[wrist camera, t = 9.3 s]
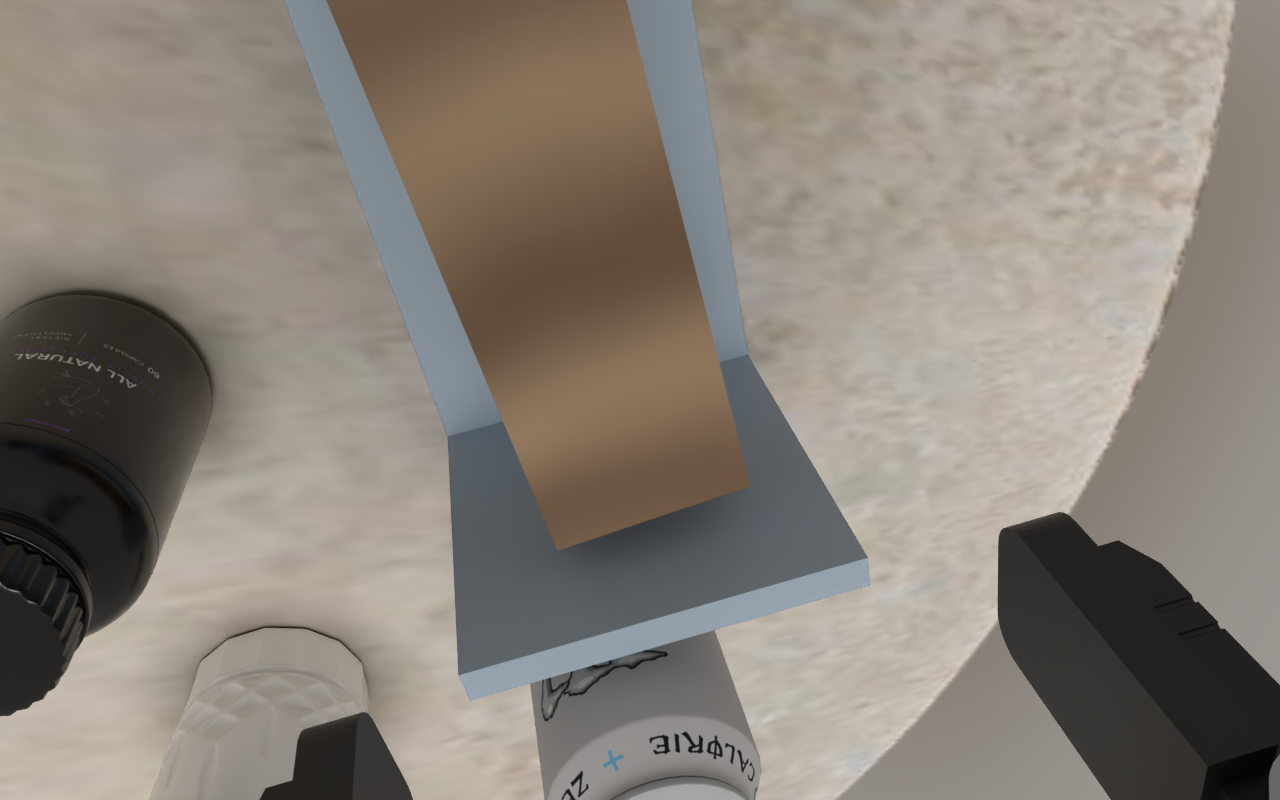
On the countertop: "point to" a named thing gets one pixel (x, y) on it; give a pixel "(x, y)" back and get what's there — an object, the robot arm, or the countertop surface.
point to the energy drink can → (647, 728)
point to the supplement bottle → (86, 473)
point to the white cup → (257, 713)
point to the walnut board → (557, 245)
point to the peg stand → (491, 471)
